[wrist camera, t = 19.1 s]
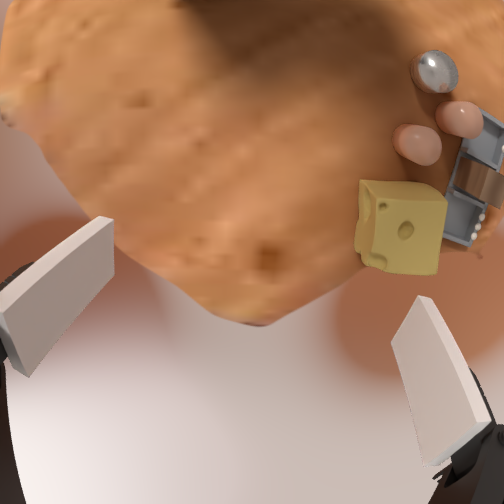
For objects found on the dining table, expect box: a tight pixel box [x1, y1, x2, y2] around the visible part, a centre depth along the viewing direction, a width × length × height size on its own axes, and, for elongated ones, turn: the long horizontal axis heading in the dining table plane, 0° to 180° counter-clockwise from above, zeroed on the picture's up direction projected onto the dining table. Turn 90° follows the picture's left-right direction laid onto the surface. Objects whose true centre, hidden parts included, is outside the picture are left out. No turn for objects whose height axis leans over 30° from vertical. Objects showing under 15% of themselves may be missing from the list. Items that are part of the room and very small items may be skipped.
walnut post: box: [453, 156, 504, 209], centre depth 33 cm, size 4×4×8 cm
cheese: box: [354, 179, 448, 276], centre depth 37 cm, size 10×11×10 cm
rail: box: [442, 107, 504, 247], centre depth 36 cm, size 21×8×3 cm, turn 168°
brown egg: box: [392, 124, 442, 166], centre depth 34 cm, size 5×5×6 cm
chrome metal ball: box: [410, 50, 458, 93], centre depth 30 cm, size 6×6×4 cm
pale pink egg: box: [435, 101, 483, 139], centre depth 31 cm, size 5×5×6 cm
